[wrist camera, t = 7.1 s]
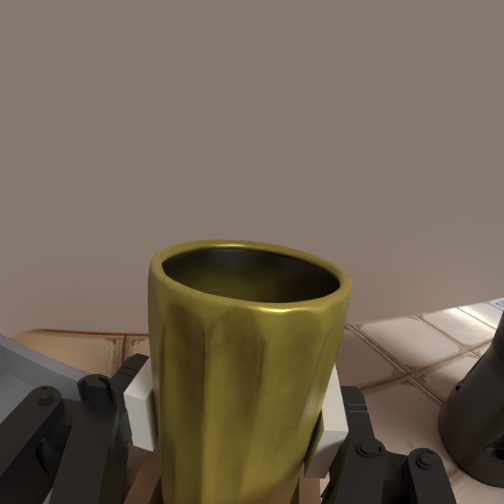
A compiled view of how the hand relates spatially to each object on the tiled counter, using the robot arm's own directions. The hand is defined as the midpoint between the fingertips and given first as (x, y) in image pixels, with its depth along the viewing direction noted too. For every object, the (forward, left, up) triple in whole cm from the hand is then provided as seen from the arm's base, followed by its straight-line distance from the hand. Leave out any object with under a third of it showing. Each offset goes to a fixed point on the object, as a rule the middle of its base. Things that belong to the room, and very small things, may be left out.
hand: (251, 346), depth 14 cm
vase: (0, +5, -9) cm, 10 cm away
